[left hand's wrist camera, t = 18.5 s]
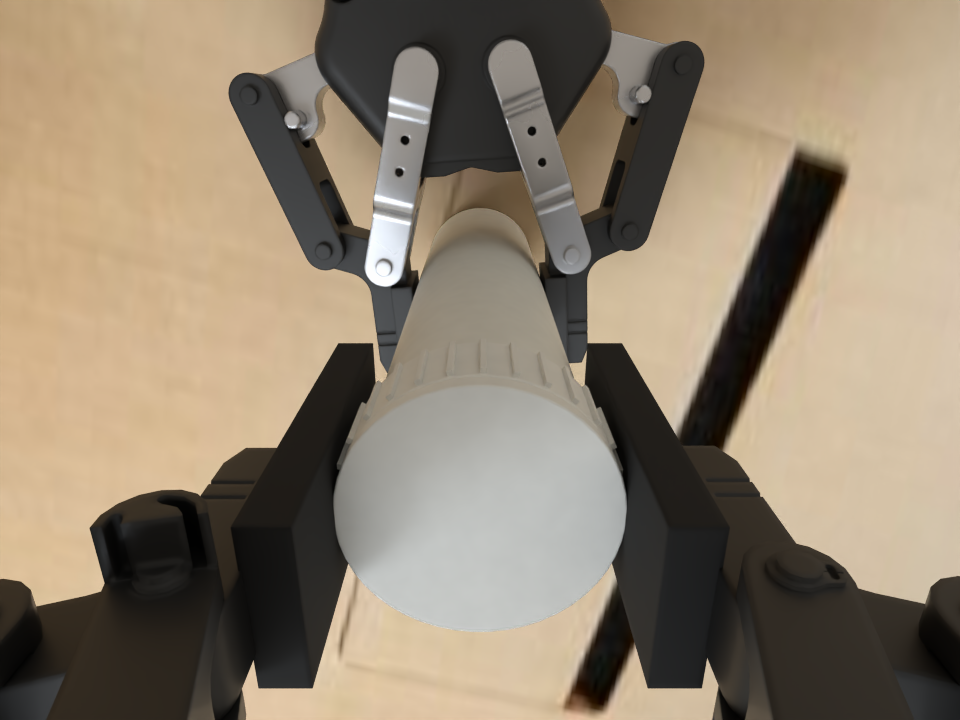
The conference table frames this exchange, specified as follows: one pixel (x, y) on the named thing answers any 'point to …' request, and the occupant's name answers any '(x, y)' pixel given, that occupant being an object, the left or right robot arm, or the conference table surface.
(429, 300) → the white bottle
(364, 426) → the lid
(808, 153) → the conference table surface
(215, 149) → the conference table surface
